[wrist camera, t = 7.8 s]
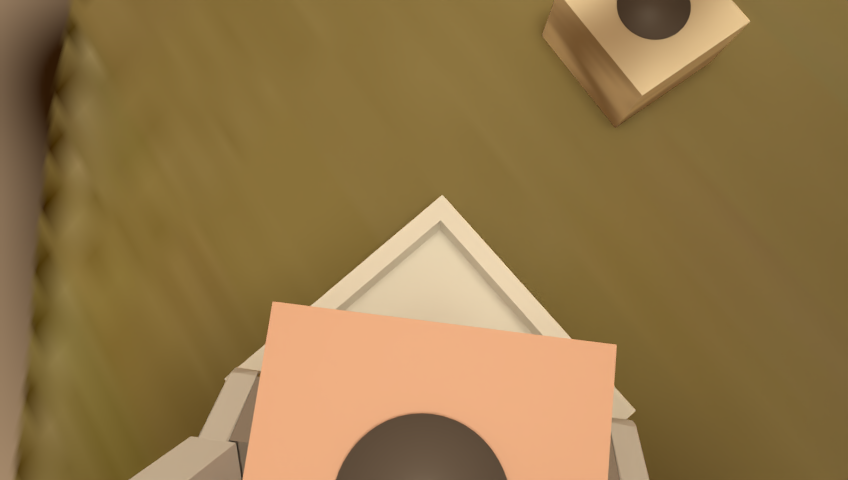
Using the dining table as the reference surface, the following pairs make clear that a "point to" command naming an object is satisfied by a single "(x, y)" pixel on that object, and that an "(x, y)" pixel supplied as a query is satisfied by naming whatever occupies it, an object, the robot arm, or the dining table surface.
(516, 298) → the tray
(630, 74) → the low block
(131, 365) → the dining table surface
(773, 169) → the dining table surface
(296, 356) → the tall block
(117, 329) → the dining table surface
